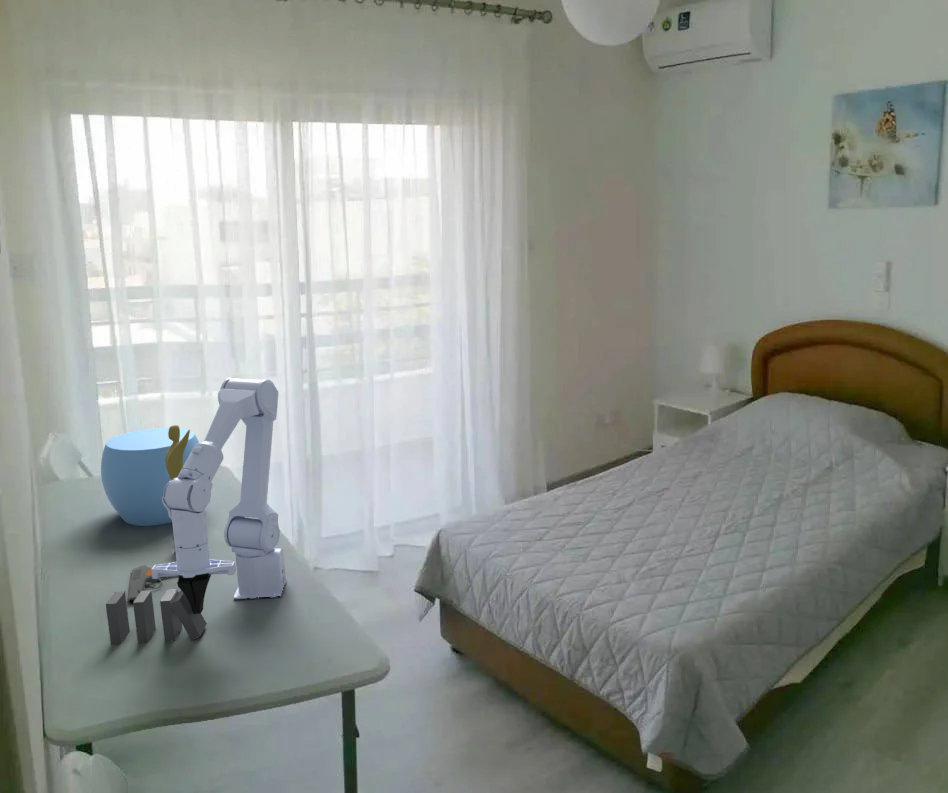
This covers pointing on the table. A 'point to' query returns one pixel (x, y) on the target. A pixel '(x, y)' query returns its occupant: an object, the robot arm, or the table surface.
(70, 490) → the table surface
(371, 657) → the table surface
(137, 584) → the handgun
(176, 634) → the domino
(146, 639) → the domino
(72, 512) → the table surface
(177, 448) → the sculpture
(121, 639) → the domino end
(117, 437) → the planter
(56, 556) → the table surface
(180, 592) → the domino
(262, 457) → the robot arm
